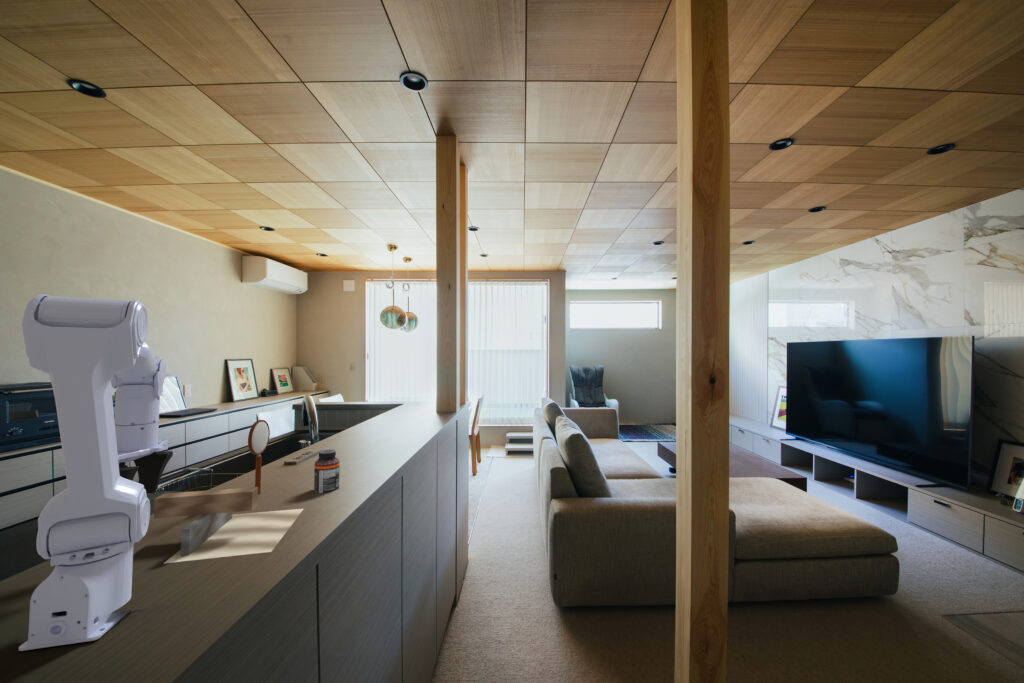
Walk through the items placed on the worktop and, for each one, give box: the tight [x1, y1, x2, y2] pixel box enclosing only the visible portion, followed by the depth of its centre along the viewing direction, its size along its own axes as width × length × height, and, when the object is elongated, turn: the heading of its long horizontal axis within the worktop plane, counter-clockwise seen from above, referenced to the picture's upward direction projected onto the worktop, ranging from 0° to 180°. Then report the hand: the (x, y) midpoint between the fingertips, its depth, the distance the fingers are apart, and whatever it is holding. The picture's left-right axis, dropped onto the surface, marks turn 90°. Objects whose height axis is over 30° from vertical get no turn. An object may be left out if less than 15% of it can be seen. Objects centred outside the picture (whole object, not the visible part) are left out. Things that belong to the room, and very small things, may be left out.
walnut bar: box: [153, 486, 259, 519], centre depth 74 cm, size 16×3×4 cm, turn 104°
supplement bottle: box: [313, 449, 341, 494], centre depth 100 cm, size 6×6×11 cm
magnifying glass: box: [247, 419, 271, 496], centre depth 97 cm, size 9×2×20 cm, turn 5°
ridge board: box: [163, 508, 304, 565], centre depth 75 cm, size 20×16×6 cm
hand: (133, 500), depth 68 cm, fingers open, 7 cm apart
